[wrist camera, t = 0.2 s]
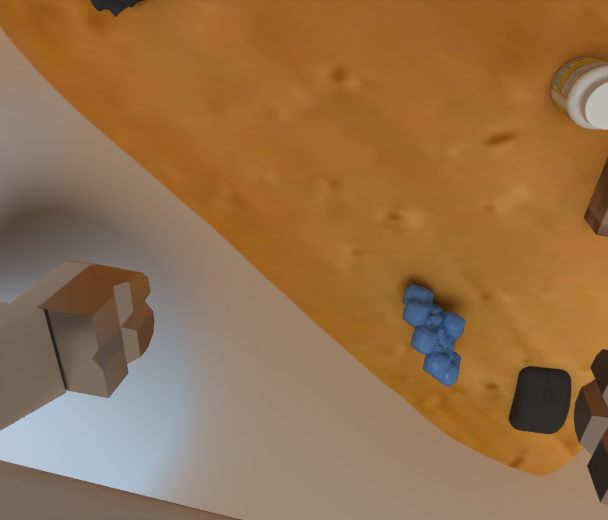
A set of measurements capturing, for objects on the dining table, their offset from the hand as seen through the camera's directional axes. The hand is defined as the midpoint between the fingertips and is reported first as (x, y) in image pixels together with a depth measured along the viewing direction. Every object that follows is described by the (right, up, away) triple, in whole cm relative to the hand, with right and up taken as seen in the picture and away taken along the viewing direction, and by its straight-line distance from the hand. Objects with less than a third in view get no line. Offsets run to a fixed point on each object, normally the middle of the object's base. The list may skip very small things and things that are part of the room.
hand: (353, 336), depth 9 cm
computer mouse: (+32, -18, +58) cm, 68 cm away
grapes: (+17, -4, +54) cm, 56 cm away
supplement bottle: (+26, +19, +39) cm, 50 cm away
